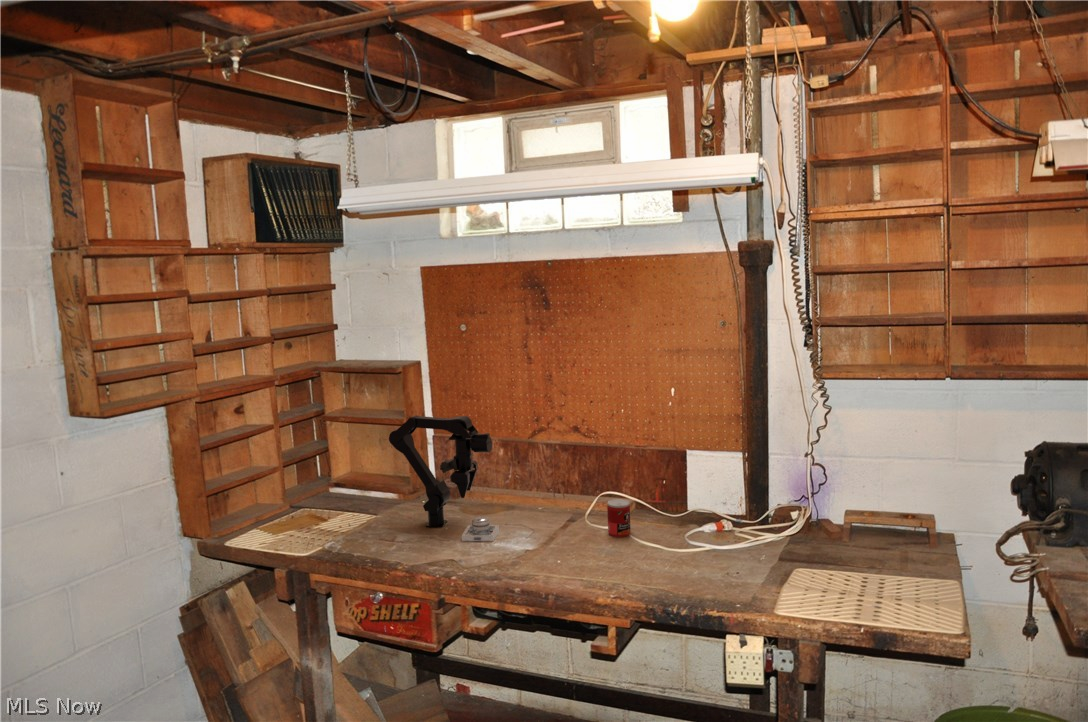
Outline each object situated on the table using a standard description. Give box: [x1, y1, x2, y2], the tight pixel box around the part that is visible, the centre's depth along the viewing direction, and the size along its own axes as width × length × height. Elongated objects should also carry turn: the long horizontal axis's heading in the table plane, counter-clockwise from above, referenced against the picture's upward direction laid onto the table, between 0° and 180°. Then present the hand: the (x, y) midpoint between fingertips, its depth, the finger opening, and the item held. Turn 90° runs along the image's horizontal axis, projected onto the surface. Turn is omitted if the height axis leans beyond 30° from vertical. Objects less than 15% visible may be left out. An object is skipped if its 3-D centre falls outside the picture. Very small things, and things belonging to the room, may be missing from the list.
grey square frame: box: [461, 524, 500, 542], centre depth 277 cm, size 12×11×2 cm
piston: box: [471, 516, 491, 535], centre depth 278 cm, size 6×6×6 cm
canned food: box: [606, 498, 631, 538], centre depth 274 cm, size 8×8×11 cm
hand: (465, 494), depth 287 cm, fingers open, 9 cm apart
